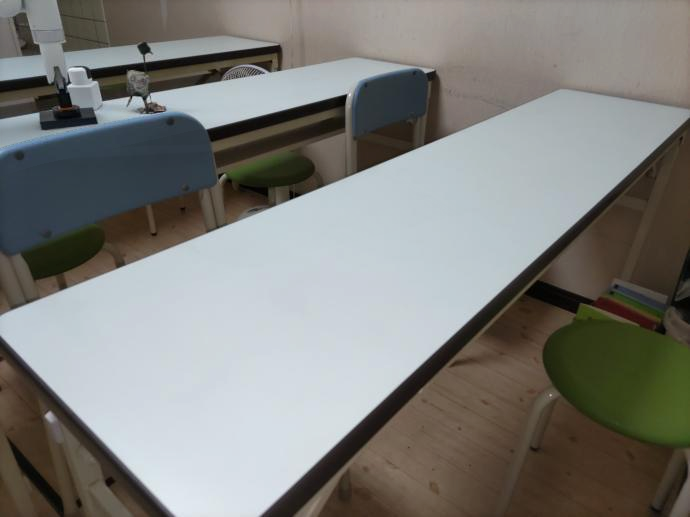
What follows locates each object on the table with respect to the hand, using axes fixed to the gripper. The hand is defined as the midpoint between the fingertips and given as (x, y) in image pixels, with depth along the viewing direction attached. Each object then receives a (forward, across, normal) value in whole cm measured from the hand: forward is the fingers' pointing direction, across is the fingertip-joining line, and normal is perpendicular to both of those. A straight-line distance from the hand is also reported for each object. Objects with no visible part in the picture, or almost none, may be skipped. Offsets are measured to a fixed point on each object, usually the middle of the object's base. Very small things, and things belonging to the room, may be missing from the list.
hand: (66, 106), depth 143 cm
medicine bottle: (+4, -14, +6) cm, 16 cm away
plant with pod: (+4, -3, +22) cm, 22 cm away
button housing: (+4, 0, 0) cm, 4 cm away
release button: (+2, 0, 0) cm, 2 cm away
